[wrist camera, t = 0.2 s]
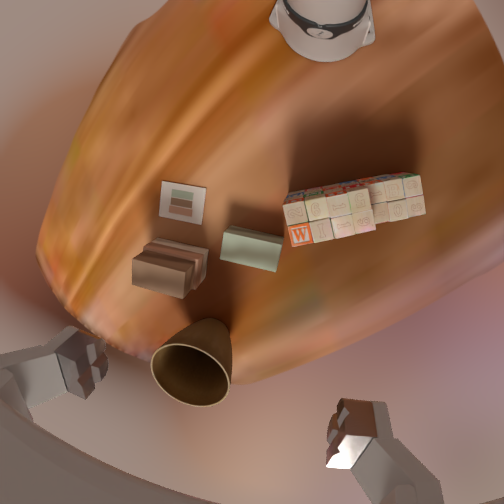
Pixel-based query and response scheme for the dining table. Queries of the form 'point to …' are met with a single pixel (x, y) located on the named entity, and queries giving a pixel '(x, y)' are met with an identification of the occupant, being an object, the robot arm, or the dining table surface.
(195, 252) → the base brick
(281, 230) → the dining table surface
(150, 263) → the brick walnut
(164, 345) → the plant pot
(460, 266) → the dining table surface
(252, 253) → the brick sage
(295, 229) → the stack of blocks
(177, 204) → the page
